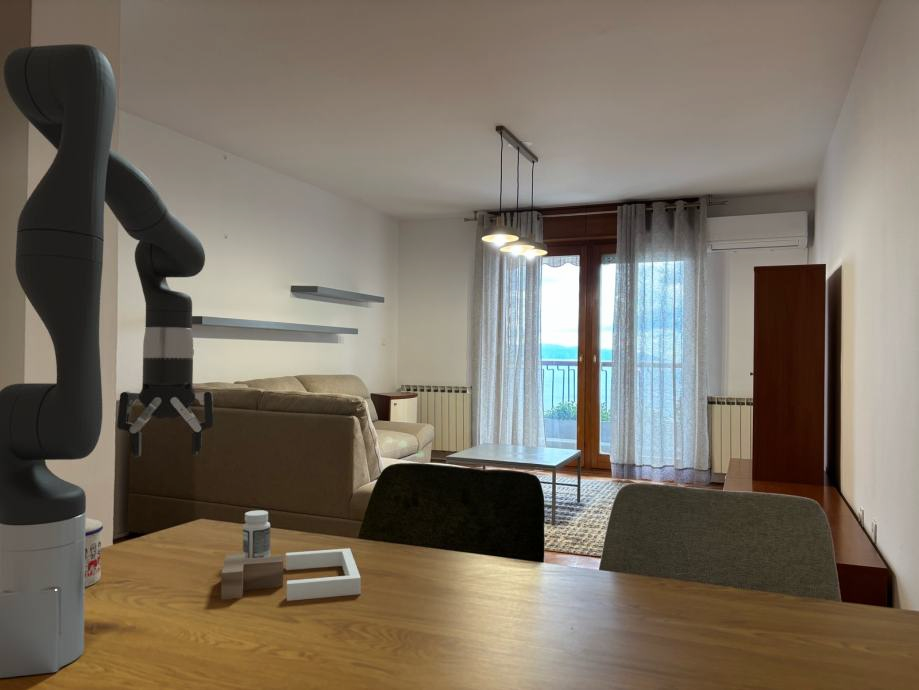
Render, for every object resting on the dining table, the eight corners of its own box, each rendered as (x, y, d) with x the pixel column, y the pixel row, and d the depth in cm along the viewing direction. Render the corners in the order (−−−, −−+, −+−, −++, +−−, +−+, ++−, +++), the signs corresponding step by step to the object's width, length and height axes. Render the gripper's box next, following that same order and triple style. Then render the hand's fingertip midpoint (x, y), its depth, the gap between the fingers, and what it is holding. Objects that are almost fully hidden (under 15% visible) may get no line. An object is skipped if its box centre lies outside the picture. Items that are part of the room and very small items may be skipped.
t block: (283, 594, 102) (283, 568, 102) (221, 599, 100) (221, 573, 100) (282, 573, 112) (282, 549, 112) (226, 578, 110) (226, 553, 110)
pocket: (360, 594, 102) (360, 577, 102) (286, 600, 100) (287, 584, 100) (349, 562, 118) (349, 548, 118) (285, 567, 115) (285, 552, 115)
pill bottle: (274, 555, 122) (274, 510, 122) (264, 564, 117) (264, 516, 117) (249, 555, 122) (249, 509, 122) (238, 563, 117) (238, 515, 117)
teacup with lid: (79, 594, 102) (80, 517, 102) (22, 592, 102) (23, 516, 103) (124, 568, 114) (124, 500, 114) (73, 567, 114) (73, 499, 115)
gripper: (115, 355, 103) (113, 460, 103) (213, 356, 107) (211, 457, 107) (124, 355, 110) (122, 454, 110) (216, 356, 114) (214, 451, 114)
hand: (166, 455), depth 108 cm, fingers open, 8 cm apart
